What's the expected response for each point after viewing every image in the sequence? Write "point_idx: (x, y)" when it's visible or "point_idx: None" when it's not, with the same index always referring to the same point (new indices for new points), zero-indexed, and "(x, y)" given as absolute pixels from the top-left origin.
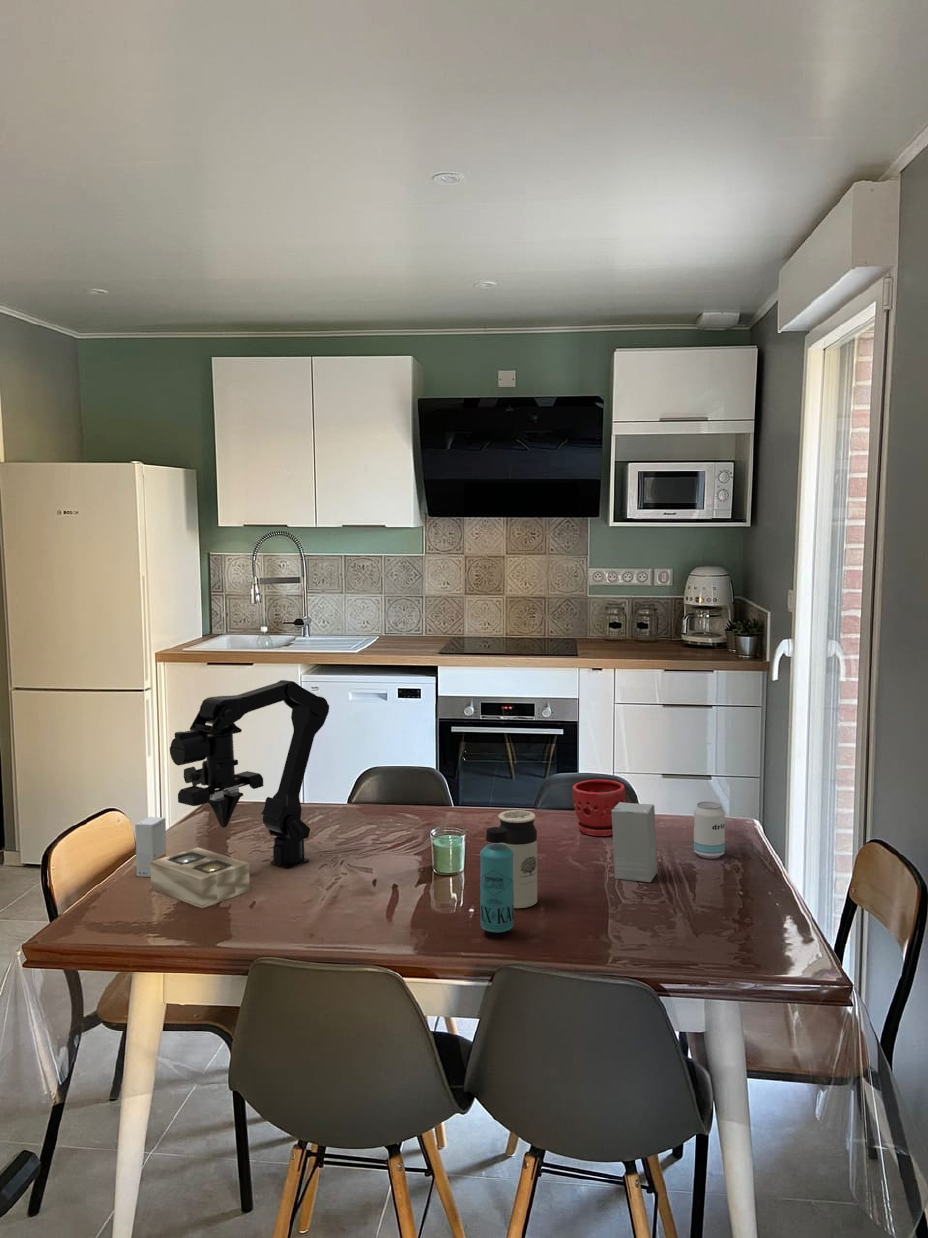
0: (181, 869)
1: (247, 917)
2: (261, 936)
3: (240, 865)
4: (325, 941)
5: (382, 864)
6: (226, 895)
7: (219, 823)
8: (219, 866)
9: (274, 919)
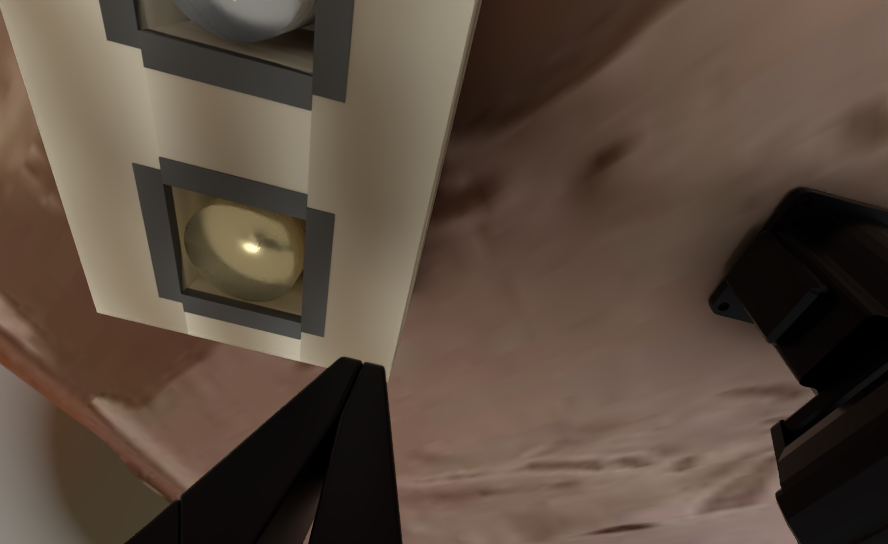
0: (68, 115)
1: (246, 385)
2: (198, 450)
3: None
4: None
5: None
6: None
7: (315, 380)
8: (274, 283)
9: None
